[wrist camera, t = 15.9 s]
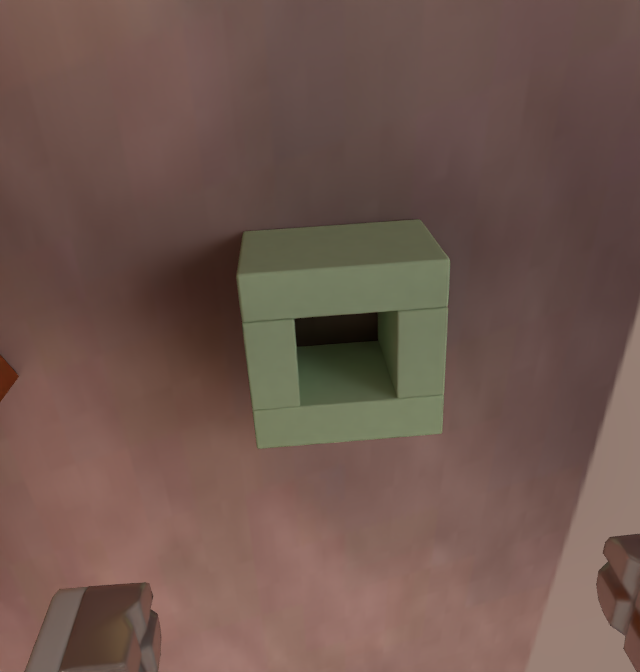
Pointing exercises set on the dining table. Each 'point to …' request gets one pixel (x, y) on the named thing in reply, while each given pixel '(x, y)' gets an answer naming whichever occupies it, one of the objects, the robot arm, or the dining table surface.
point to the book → (6, 377)
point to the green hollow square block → (345, 358)
